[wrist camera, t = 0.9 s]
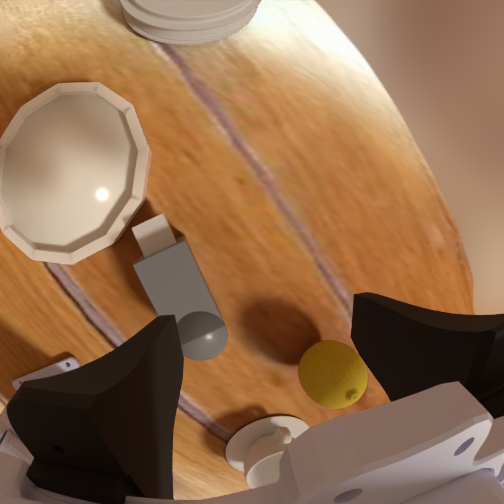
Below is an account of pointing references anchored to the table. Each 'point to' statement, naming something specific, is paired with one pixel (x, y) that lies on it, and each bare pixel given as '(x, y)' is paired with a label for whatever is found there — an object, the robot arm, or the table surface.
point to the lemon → (332, 374)
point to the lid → (188, 19)
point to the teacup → (262, 448)
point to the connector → (179, 288)
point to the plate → (72, 172)
